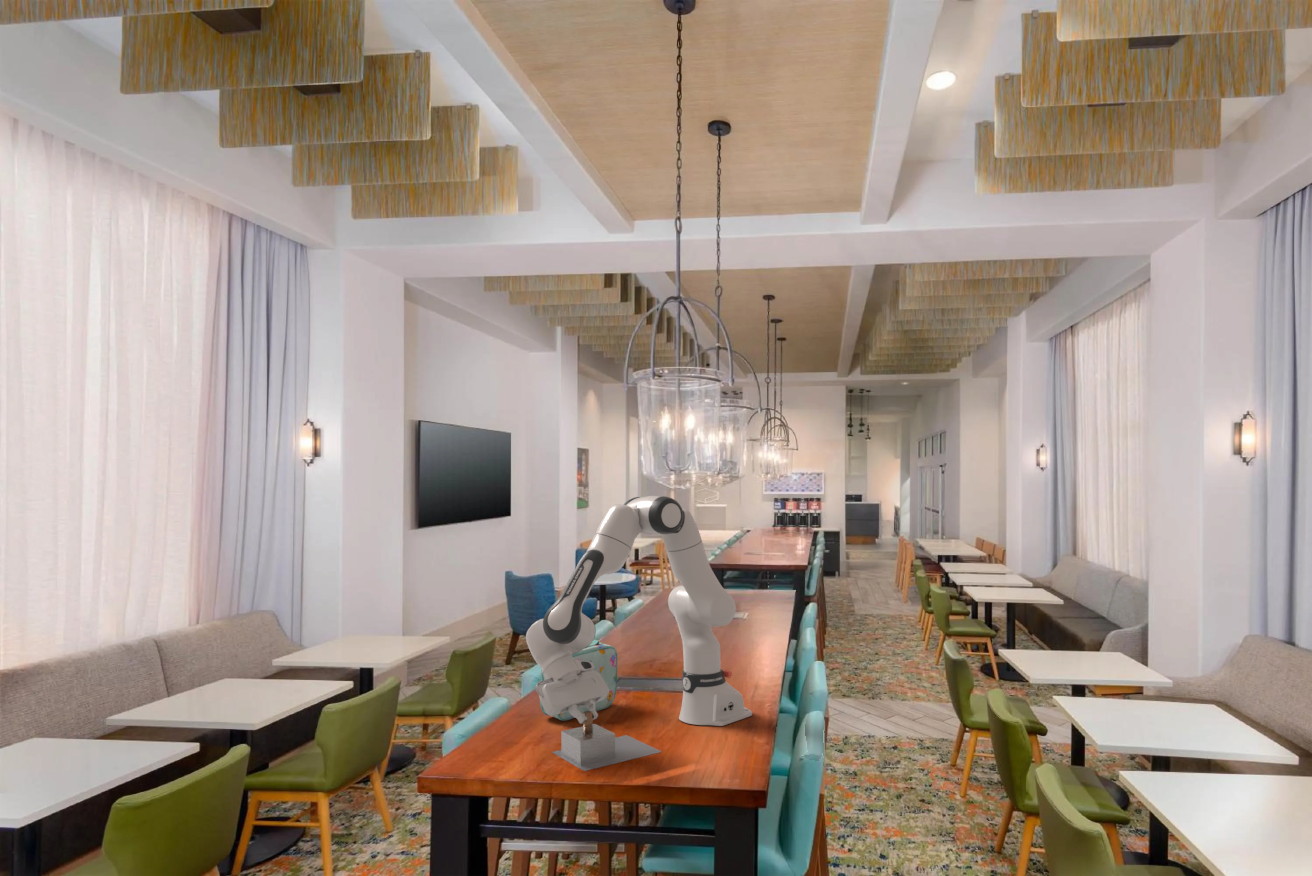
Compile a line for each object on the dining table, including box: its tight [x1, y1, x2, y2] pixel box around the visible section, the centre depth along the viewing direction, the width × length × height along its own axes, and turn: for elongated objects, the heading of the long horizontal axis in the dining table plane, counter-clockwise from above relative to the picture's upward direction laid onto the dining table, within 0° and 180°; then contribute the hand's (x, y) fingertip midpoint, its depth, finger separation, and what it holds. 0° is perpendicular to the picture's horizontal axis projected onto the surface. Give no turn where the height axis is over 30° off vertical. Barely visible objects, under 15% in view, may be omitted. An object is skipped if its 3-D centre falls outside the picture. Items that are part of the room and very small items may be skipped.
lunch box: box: [539, 639, 618, 721], centre depth 248 cm, size 27×10×21 cm, turn 141°
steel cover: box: [560, 711, 616, 766], centre depth 204 cm, size 10×10×11 cm
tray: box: [551, 734, 663, 772], centre depth 207 cm, size 23×17×4 cm
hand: (589, 720), depth 204 cm, fingers closed on steel cover, 2 cm apart
